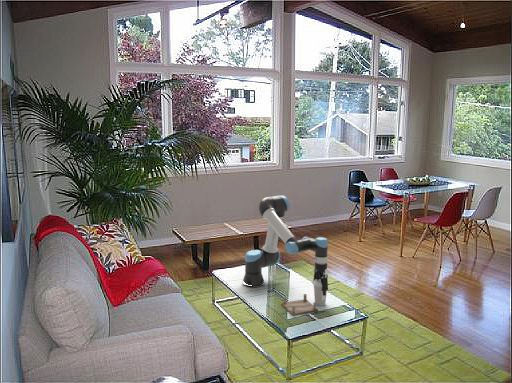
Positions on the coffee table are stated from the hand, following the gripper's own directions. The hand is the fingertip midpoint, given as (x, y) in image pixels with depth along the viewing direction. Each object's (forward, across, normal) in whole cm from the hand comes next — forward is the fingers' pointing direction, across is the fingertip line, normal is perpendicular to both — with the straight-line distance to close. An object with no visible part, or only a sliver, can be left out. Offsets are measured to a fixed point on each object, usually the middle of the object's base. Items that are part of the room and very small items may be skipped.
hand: (320, 297), depth 267 cm
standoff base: (+4, +2, -15) cm, 16 cm away
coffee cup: (+4, 0, 0) cm, 4 cm away
